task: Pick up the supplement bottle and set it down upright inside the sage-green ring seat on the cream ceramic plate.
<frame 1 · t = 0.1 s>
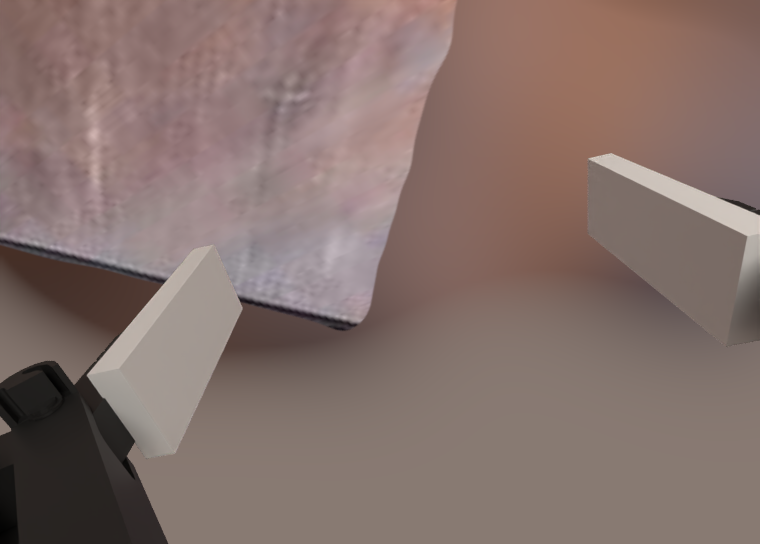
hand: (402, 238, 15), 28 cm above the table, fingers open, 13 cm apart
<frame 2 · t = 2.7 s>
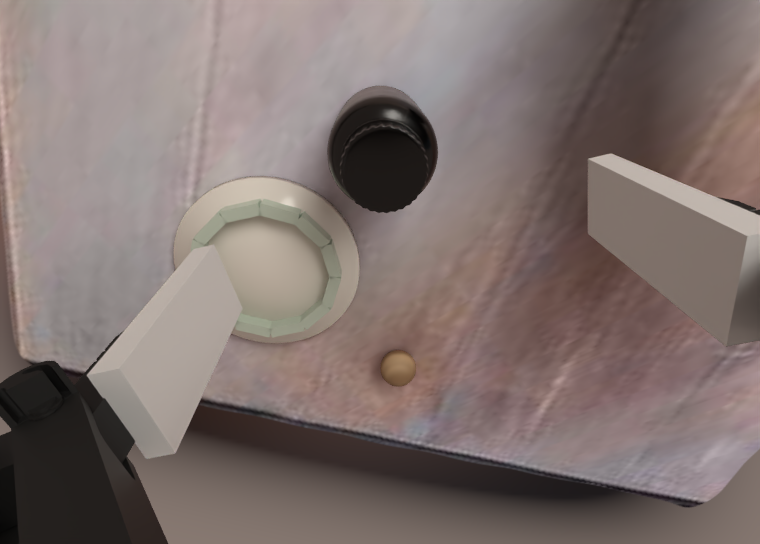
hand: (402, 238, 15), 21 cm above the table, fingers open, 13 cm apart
plate: (270, 264, 38), on the table
supplement bottle: (379, 131, 34), on the table
wooden bead: (396, 356, 44), on the table
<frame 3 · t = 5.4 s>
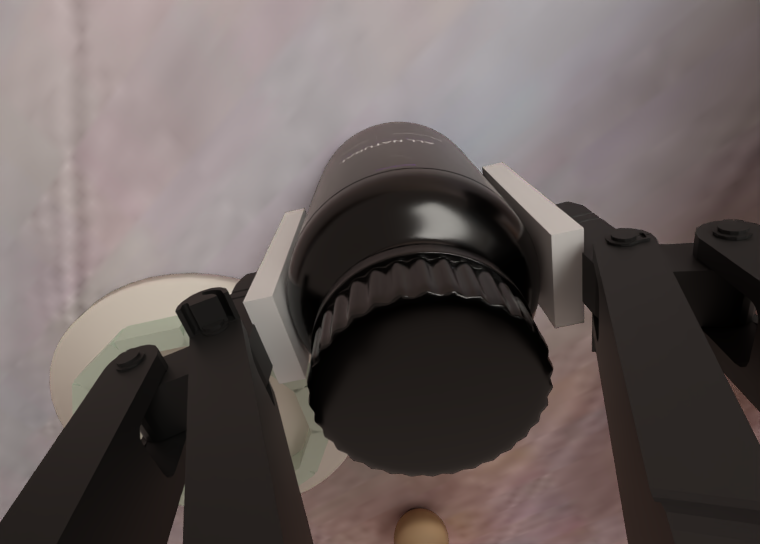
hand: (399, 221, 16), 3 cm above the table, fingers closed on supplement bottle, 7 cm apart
plate: (217, 400, 24), on the table
supplement bottle: (394, 199, 19), on the table, touching gripper
wooden bead: (417, 513, 29), on the table
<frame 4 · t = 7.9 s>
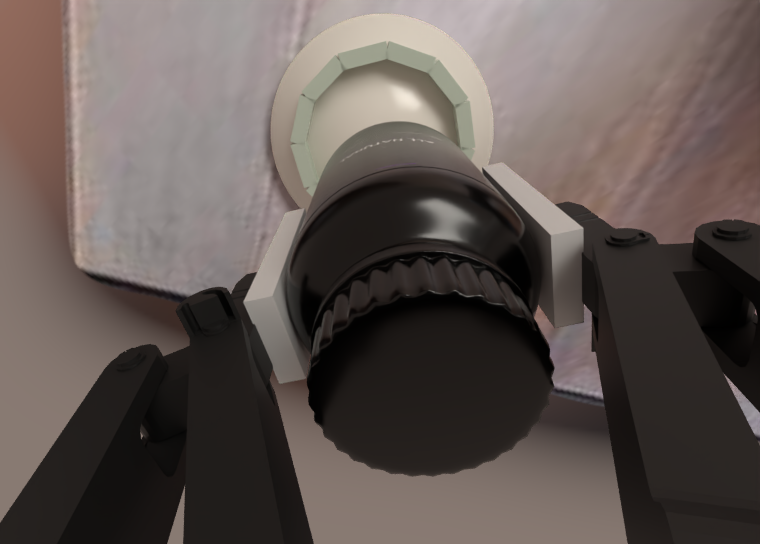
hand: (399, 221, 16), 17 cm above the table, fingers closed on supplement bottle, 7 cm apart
plate: (382, 140, 32), on the table
supplement bottle: (394, 198, 19), point 14 cm above the table, touching gripper
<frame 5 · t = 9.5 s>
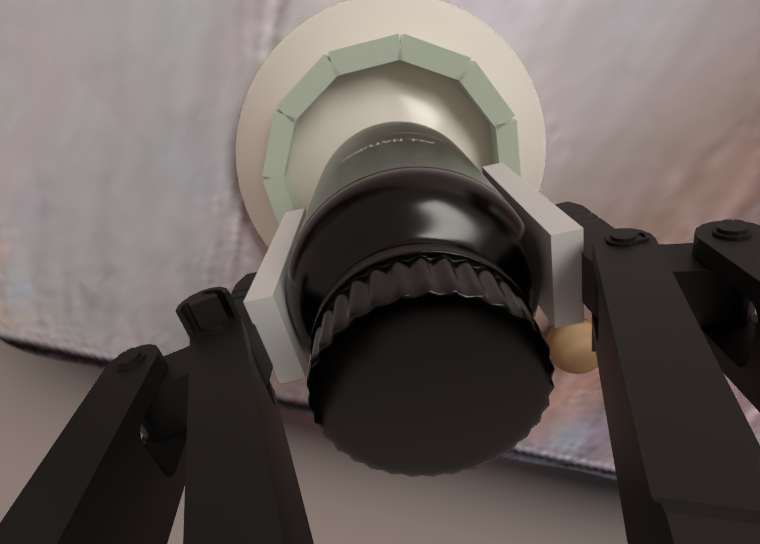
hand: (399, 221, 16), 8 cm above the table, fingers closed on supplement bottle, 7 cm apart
plate: (391, 170, 23), on the table
supplement bottle: (394, 198, 19), point 5 cm above the table, touching gripper
wooden bead: (563, 328, 28), on the table
when the fingers open (5 cm above the table, at t = 10.8 s): supplement bottle drops 1 cm, resting on plate.
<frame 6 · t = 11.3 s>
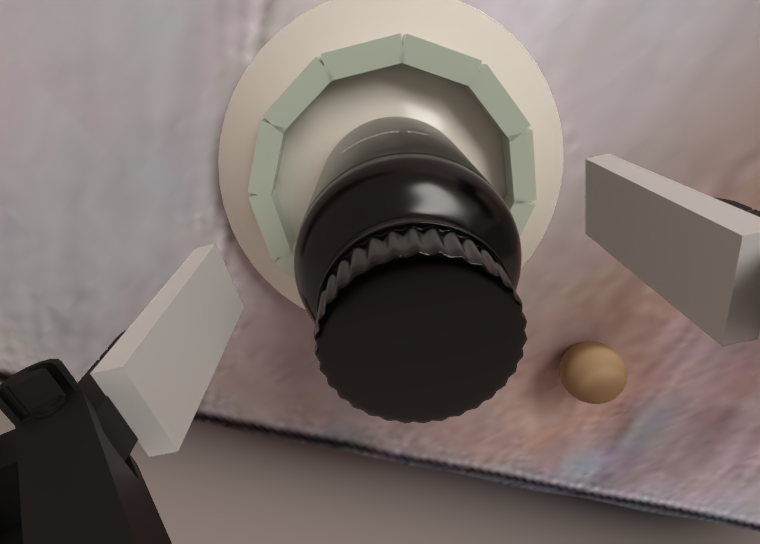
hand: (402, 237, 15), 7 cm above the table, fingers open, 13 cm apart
plate: (391, 184, 21), on the table
supplement bottle: (391, 189, 20), point 1 cm above the table, touching plate
wooden bead: (578, 353, 26), on the table
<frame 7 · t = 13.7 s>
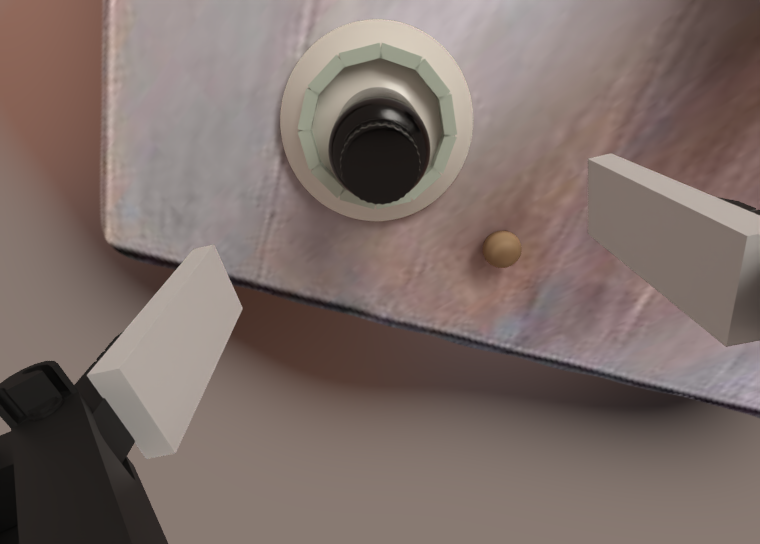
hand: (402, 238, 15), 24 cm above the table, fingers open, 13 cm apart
plate: (377, 128, 36), on the table
supplement bottle: (377, 130, 36), point 1 cm above the table, touching plate
wooden bead: (496, 241, 42), on the table
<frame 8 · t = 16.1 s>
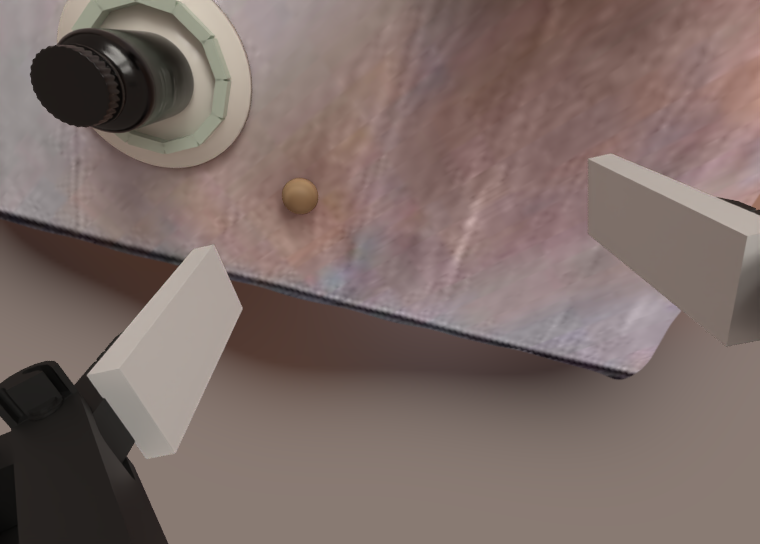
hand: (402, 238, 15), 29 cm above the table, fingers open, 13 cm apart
plate: (161, 75, 38), on the table
supplement bottle: (156, 76, 37), point 1 cm above the table, touching plate
wooden bead: (302, 191, 43), on the table
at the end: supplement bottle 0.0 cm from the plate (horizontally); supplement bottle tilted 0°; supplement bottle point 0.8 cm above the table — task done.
